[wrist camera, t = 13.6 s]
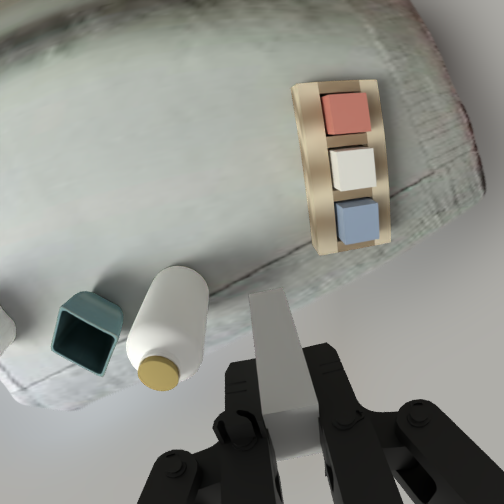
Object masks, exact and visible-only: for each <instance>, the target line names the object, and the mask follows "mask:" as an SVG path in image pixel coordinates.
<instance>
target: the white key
mask: <svg viewBox="0 0 504 504" xmlns="http://www.w3.org/2000/svg"><path fill="white" fill-rule="evenodd" d="M328 156H329V164H330V173H331V182H332V186H333V187H334V188H336V189H338V190H339V191H348V190H355V189H362V188H369V187H377V186H376V173H375V161H374V151H373V148H369V147H363V146H347V147H338V148H329V149H328Z"/></svg>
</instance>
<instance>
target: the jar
mask: <svg viewBox="0 0 504 504" xmlns="http://www.w3.org/2000/svg"><path fill="white" fill-rule="evenodd" d="M15 337H16V326H15V323H14V321H13V320H12V319H11V318H10V317H9V316H8V315H7V314H6V313H5V311H4V310H3V309H2V307H1V306H0V356H1V355H2V354H3V353H4V351H5V350H6V349H7V348H8V346H9V345H11V343H12V342H13V341H14V339H15Z"/></svg>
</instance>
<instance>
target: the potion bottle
mask: <svg viewBox="0 0 504 504" xmlns="http://www.w3.org/2000/svg"><path fill="white" fill-rule="evenodd" d="M208 303H209V289H208V286H207V283H206V281H205V280H204V279H203V277H202V276H201V275H200V274H199V273H197V272H196V271H194V270H193V269H190V268H187V267H185V266H173V267H168V268H166V269H164V270H162V271H161V272H159V273H158V274H157V276H156V277H155V278H154V279H153V282H152V284H151V286H150V288H149V290H148V292H147V294H146V297H145V299H144V301H143V303H142V305H141V308H140V310H139V312H138V314H137V316H136V319H135V321H134V323H133V325H132V328H131V330H130V332H129V335H128V339H127V343H126V349H127V355H128V358H129V359H130V361H131V363H132V365H133V366H134V367H135V368H136V369H137V370H138V377H139V379H140V380H141V382H142V383H143V384H144V385H146V386H147V387H149V388H151V389H154V390H157V391H167V390H171V389H173V388H174V387H175V386H177V384H178V382H182V381H183V380H186V379H188V378H190V377H192V376H193V375H194V374H195V373H196V372H197V371H198V369H199V367H200V365H201V363H202V360H203V352H204V342H205V332H206V322H207V313H208Z"/></svg>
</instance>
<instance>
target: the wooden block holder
mask: <svg viewBox="0 0 504 504" xmlns="http://www.w3.org/2000/svg"><path fill="white" fill-rule="evenodd" d="M291 93H292V99H293V105H294V111H295V117H296V124H297V130H298V136H299V143H300V150H301V157H302V164H303V171H304V179H305V186H306V194H307V202H308V210H309V219H310V228H311V237H312V245H313V246H314V248H315V249H316V251H317V252H318V254H319V255H320V256H321V255H326V254H332V253H337V252H342V251H348V250H353V249H358V248H363V247H369V246H374V245H379V244H384V243H389V242H391V225H390V197H389V180H388V166H387V155H386V144H385V135H384V126H383V118H382V111H381V104H380V97H379V90H378V84H377V80H343V81H325V82H311V83H300V84H296V85H294V86H293V87H291ZM348 93H366V95H367V102H368V109H369V116H370V123H371V131H369V132H357V133H346V134H336V135H326V134H325V127H324V120H323V114H322V107H321V101H320V96H326V95H332V94H348ZM350 145H356V146H363V147H369V148H373V151H374V161H375V173H376V186H377V187H369V188H362V189H355V190H348V191H339V190H338V189H336V188H334V187H333V186H332V182H331V173H330V164H329V156H328V149H327V148H332V147H341V146H350ZM362 197H368V198H370V199H372V200H374V201H375V202H377V203H378V212H379V239H375V240H370V241H365V242H359V243H354V244H348V245H345V244H344V243H343V242H342V241H341V240H340V238H339V237H338V236H337V235H336V222H335V211H334V202H335V201H342V200H348V199H355V198H362Z"/></svg>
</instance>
